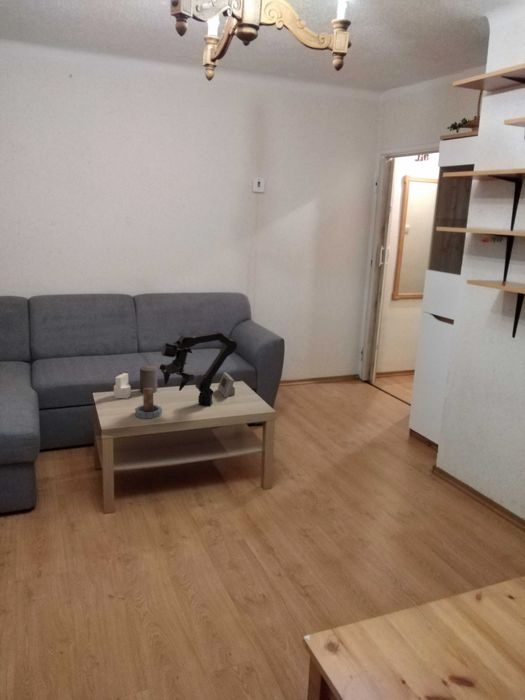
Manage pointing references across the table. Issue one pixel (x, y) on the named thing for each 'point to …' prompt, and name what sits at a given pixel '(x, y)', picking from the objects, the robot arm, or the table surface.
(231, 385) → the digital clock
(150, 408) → the brown tapered cylinder
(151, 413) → the ceramic ring dish
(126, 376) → the cylinder with rectangular tab
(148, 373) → the pillar candle
